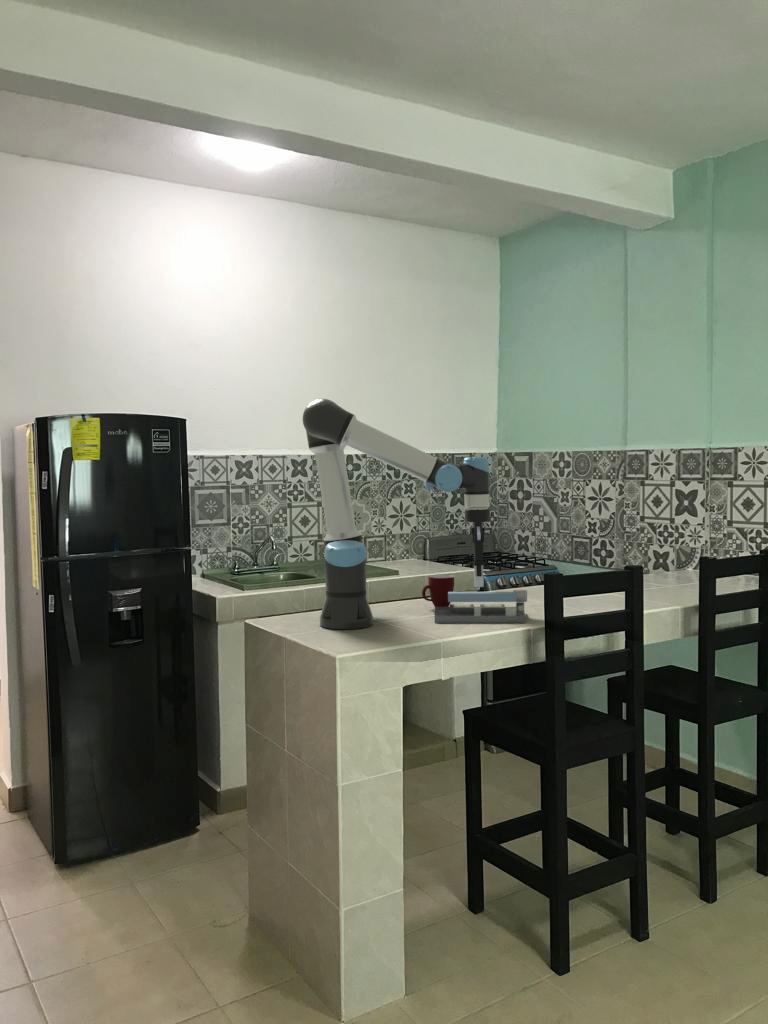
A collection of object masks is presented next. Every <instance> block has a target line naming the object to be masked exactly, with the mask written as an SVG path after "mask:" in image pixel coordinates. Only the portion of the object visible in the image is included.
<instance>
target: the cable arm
mask: <svg viewBox="0 0 768 1024" xmlns="http://www.w3.org/2000/svg"><path fill="white" fill-rule="evenodd" d="M448 602H451V603H516V602H524V603H526V602H528V590H526V589H514V590H513V591H453V592H448Z"/></svg>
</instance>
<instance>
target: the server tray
mask: <svg viewBox="0 0 768 1024" xmlns="http://www.w3.org/2000/svg"><path fill="white" fill-rule="evenodd" d="M512 623H513V624H514V623H515V624H526V623H527V615H526V613H525V602H515V606H505V604H503V603H501V604H500V603H487V604H486V603H485V604H483V603H482V604H479V606H475V605H474V604H470V603H469V604H468V603H466V604H464V603H461V604H459V603H457V604H455V603H453V604H451V603H450V605H449V607H435V606H434V624H512Z"/></svg>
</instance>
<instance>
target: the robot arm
mask: <svg viewBox="0 0 768 1024" xmlns="http://www.w3.org/2000/svg"><path fill="white" fill-rule="evenodd" d="M302 424H303V427H304V429H305V434H306V438H307V445H308V450H309V451H311V452H312V453H313V454H314V456H315V457H314V458H315V464H316V468H317V469H316V470H317V475H318V476H317V477H318V481H319V488H320V494H321V501H322V507H323V512H324V520H325V525H326V531H327V532H326V533H327V534H326V535H325V537H323V543H324V544H323V546H324V554H323V555H324V565H325V566H324V569H325V571H324V573H325V580H324V581H325V598H324V602H323V606H322V610H321V613H320V617H319V625H320V627H322V628H326V629H330V630H331V629H332V630H354V629H363V628H368V627H371V626H373V625H374V615H373V613H372V610H371V606H370V604H369V600H368V597H367V555H368V554H367V552H368V551H367V549H366V545H365V544H364V541H363V534H362V532H360V531H359V530H358V529H357V528H356V527H357V526H356V522H355V521H356V520H355V514H354V508H353V501H352V495H351V489H350V482H349V477H348V470H347V464H346V463H347V462H346V457H345V456H346V455H345V448H346V446H348V447H350V448H352V449H355V450H357V451H359V452H361V453H364V454H365V455H368V456H370V457H371V458H374V459H376V460H378V461H380V462H382V463H384V464H385V465H386V464H387V465H388V466H390V467H393V468H395V469H397V470H399V471H402V472H404V473H406V474H407V475H409V476H412V477H414V478H417V479H418V480H421V481H422V482H424V487H425V489H426V490H428V491H442V492H445V493H451V492H454V491H456V490H464V494H463V495H464V497H463V498H464V502H463V503H464V508H466V509H465V510H464V520H465V522H466V523H473V527H471V528H470V532H471V541H472V543H473V562H472V564H471V565H472V567H473V575H474V576H473V579H474V586H473V587H474V588H484V586H485V585H484V583H485V582H484V565H486V562H485V561H484V543H485V533H486V532H485V531H486V529H485V527H483V523H488V522H490V521H491V510H490V509H489V507H491V502H490V501H492V500H493V498H492V496H491V495H490V493H491V492H490V491H491V490H490V474H491V473H490V472H491V471H490V465H489V459H488V458H487V457H486V456H476V457H475V456H473V457H471V456H470V457H469V456H468V457H465V458H464V459H463V462H462V463H457V464H456V463H455V464H450V463H447V462H446V461H444V460H441V459H440V458H437V457H436V456H433V455H431V454H429V453H427V452H425V451H423V450H421V449H419V448H417V447H414V446H412V445H411V444H409V443H406V442H405V441H401V440H400V439H398V438H396V437H393V436H391V435H389V434H388V433H386V432H383V431H382V430H379V429H377V428H374V427H372V426H370V425H369V424H366V423H364V422H362V421H360V420H358V419H357V417H356V415H355V414H353V413H352V412H350V411H348V410H346V409H345V408H343V407H341V406H339V405H338V404H337V403H336V402H334V401H333V400H330V399H328V398H318V399H315V400H313V401H311V402H309V404H307V405H306V407H305V409H304V411H303V413H302Z"/></svg>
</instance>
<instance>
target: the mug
mask: <svg viewBox="0 0 768 1024" xmlns="http://www.w3.org/2000/svg"><path fill="white" fill-rule="evenodd" d="M427 582H428V584H427V585H424V586H423V588H422V590H421V595H422V598H423V599H424V600H425V601H427V602H431V603H432V604H433V607H434V608H435V607H450V604H451V603H452V602H448V592H454V589H455V576H454V575H451V574H432V575H429V576H428V581H427ZM428 589H429V594H430V598H428V597H427V596H426V592H427V590H428Z"/></svg>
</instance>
